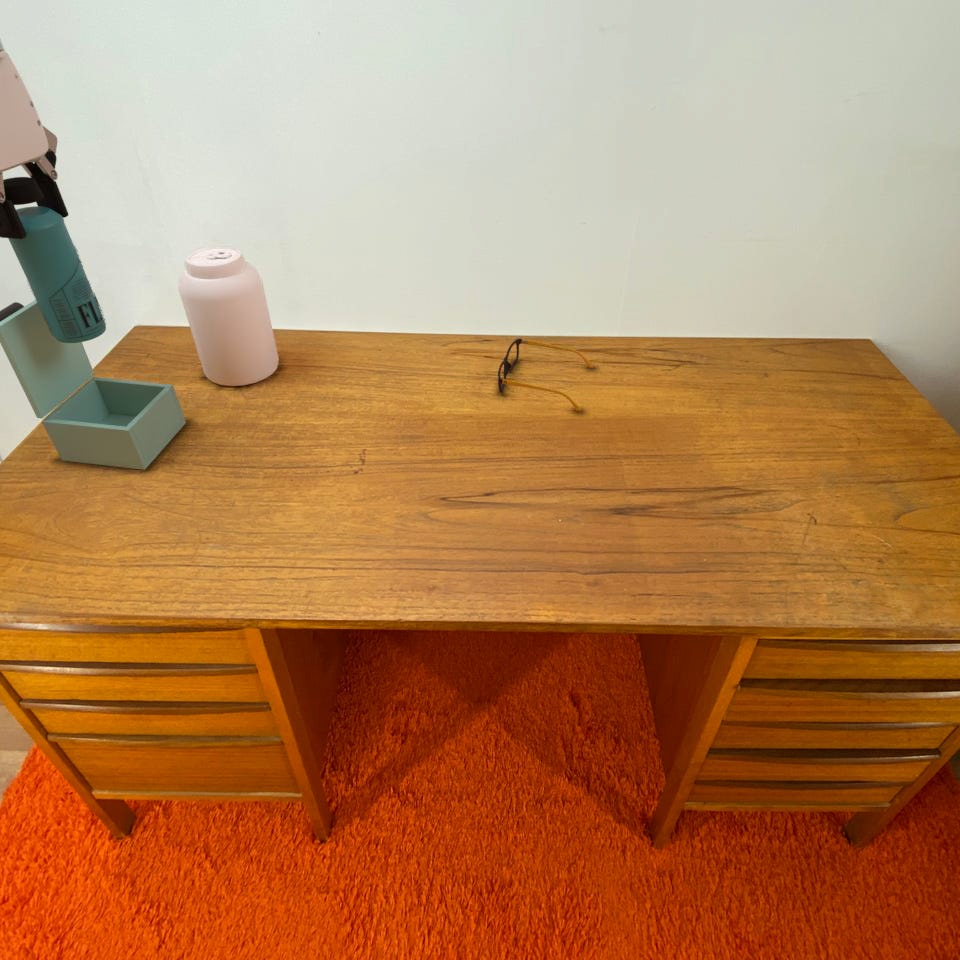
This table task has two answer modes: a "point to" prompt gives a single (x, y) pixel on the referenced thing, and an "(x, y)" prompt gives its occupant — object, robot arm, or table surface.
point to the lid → (41, 357)
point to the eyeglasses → (503, 381)
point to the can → (228, 316)
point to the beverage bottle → (53, 267)
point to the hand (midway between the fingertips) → (34, 225)
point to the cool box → (115, 423)
